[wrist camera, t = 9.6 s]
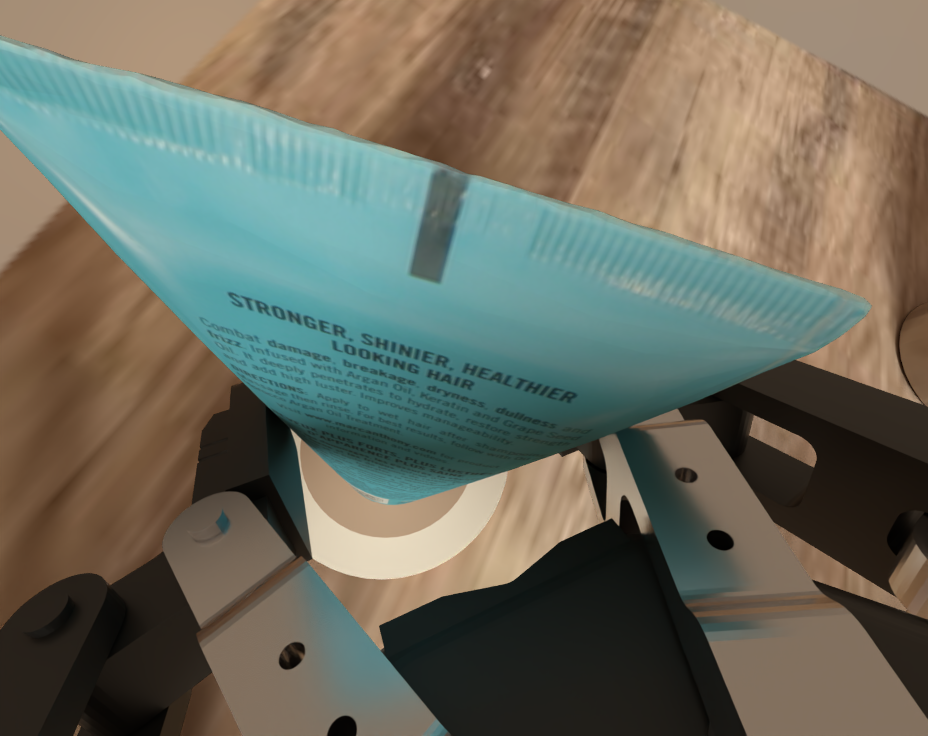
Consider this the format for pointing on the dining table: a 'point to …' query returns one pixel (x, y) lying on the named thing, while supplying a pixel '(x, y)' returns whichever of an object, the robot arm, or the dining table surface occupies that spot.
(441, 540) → the coaster
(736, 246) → the dining table surface
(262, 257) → the tube
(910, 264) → the dining table surface
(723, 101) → the dining table surface
